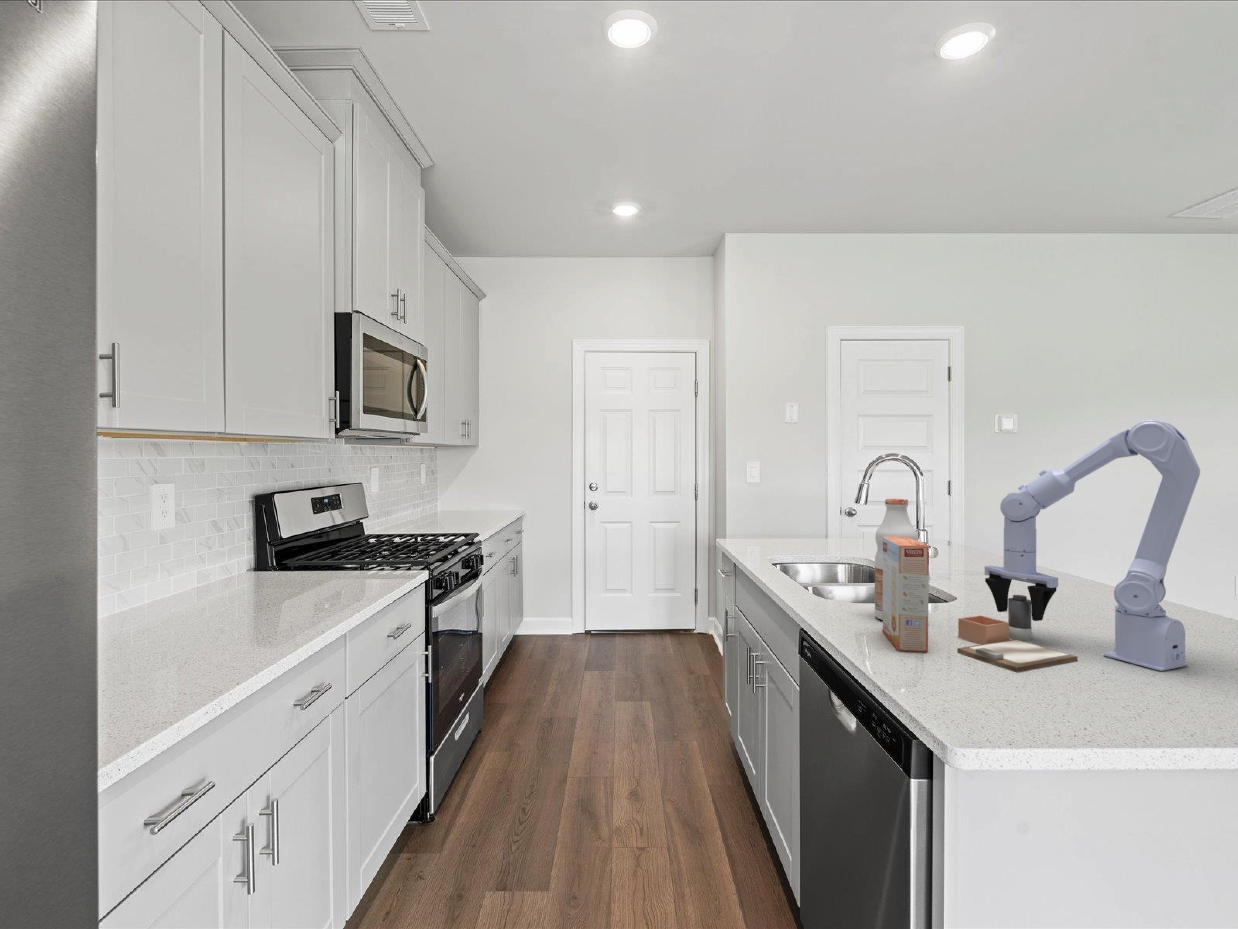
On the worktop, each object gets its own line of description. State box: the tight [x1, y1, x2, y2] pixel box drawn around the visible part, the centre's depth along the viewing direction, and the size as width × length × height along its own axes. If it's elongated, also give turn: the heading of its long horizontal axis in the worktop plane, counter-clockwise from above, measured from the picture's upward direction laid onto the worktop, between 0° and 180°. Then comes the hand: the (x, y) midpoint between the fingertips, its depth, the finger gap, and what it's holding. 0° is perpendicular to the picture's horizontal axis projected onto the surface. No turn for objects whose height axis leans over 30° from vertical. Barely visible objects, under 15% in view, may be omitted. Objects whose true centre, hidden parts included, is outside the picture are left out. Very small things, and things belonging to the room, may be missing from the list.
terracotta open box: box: [957, 615, 1010, 645], centre depth 128 cm, size 6×6×4 cm
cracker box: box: [881, 537, 930, 653], centre depth 127 cm, size 14×6×21 cm, turn 168°
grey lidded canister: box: [1007, 594, 1033, 642], centre depth 129 cm, size 4×4×9 cm
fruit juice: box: [874, 498, 919, 620], centre depth 145 cm, size 9×9×28 cm
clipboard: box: [956, 639, 1079, 673], centre depth 118 cm, size 12×16×2 cm
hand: (1019, 615), depth 130 cm, fingers open, 7 cm apart
